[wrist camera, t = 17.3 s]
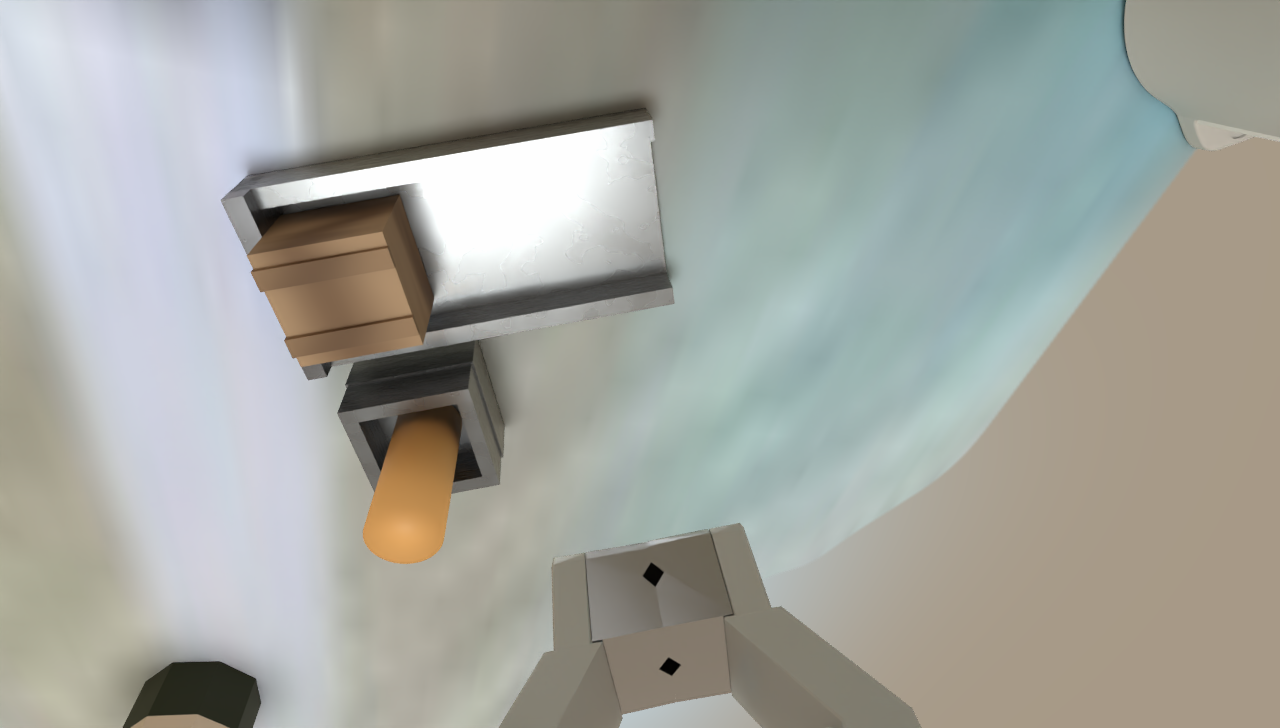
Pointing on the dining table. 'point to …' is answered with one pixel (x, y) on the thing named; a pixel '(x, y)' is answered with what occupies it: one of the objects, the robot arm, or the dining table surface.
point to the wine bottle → (196, 698)
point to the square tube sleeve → (426, 408)
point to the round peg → (415, 487)
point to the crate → (344, 280)
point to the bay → (501, 223)
